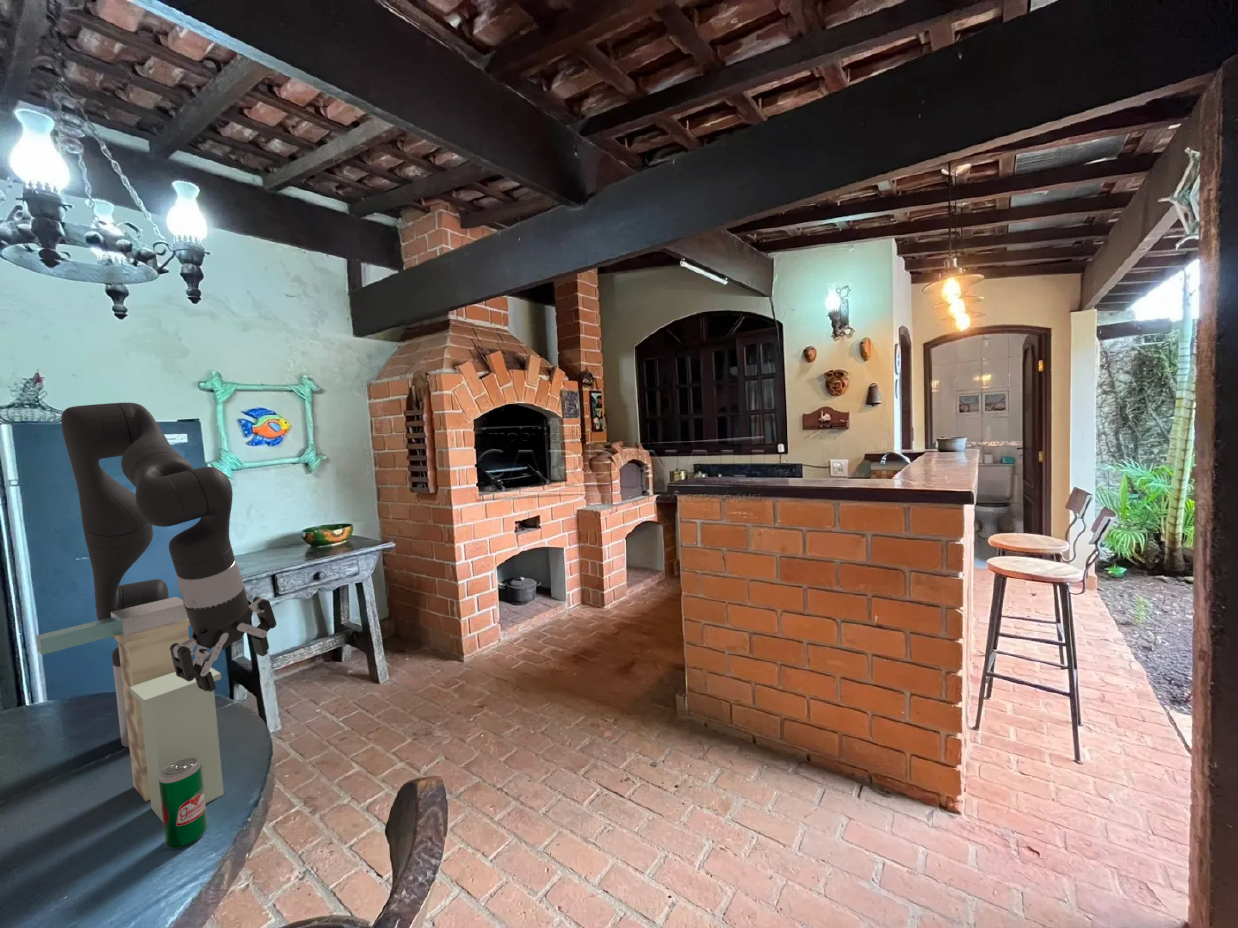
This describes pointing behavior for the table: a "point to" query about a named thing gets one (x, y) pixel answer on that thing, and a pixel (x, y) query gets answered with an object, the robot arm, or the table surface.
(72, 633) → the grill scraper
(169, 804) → the soda can
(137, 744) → the high stand
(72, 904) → the table surface
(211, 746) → the low stand
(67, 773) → the table surface
